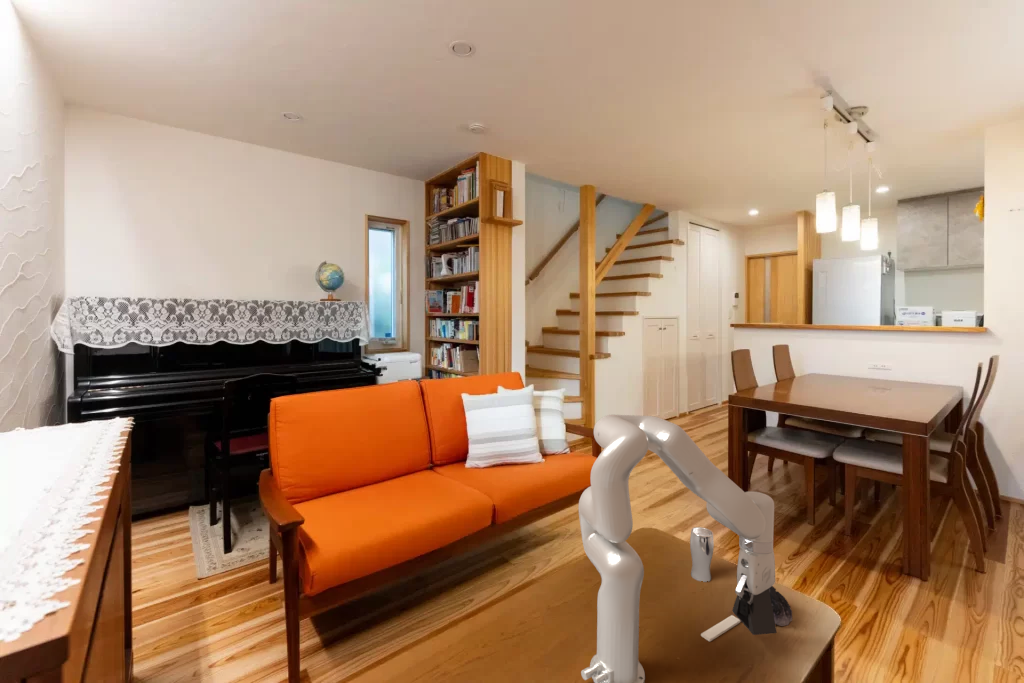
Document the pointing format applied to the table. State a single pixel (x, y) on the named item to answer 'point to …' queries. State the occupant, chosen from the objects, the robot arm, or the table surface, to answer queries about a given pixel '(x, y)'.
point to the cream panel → (720, 628)
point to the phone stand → (758, 614)
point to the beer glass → (701, 553)
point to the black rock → (780, 608)
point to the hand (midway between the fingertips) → (754, 610)
